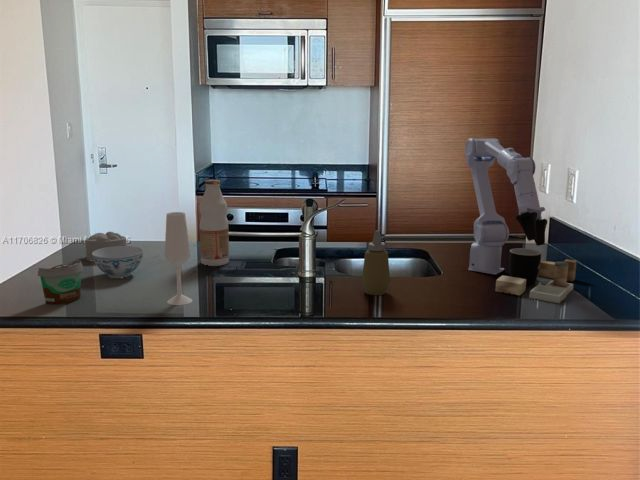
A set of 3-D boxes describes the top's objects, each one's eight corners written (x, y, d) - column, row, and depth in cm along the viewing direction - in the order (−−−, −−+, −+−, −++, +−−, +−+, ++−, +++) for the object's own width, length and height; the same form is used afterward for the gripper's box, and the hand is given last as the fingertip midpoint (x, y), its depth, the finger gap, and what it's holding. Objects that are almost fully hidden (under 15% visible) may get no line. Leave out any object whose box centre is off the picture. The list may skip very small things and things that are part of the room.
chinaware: (105, 285, 171) (103, 260, 170) (86, 274, 182) (84, 250, 181) (153, 276, 181) (151, 252, 179) (132, 266, 192) (131, 243, 190)
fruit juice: (201, 267, 192) (198, 182, 186) (200, 260, 201) (197, 178, 195) (230, 265, 194) (228, 181, 188) (228, 258, 203) (226, 178, 197)
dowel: (551, 289, 171) (553, 263, 169) (554, 286, 174) (557, 260, 172) (563, 292, 169) (566, 265, 167) (567, 289, 172) (569, 262, 170)
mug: (541, 289, 171) (544, 255, 169) (509, 287, 173) (512, 254, 170) (532, 278, 183) (535, 246, 181) (502, 276, 184) (505, 245, 182)
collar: (545, 289, 171) (545, 285, 170) (551, 285, 176) (551, 280, 175) (567, 293, 167) (568, 288, 167) (573, 288, 172) (573, 283, 172)
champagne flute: (171, 297, 161) (166, 211, 156) (195, 297, 161) (191, 211, 156) (163, 304, 155) (159, 215, 150) (189, 305, 155) (185, 216, 149)
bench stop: (516, 272, 189) (518, 254, 188) (519, 270, 192) (521, 252, 190) (572, 281, 179) (574, 262, 178) (574, 279, 182) (576, 260, 181)
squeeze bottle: (392, 290, 169) (394, 229, 165) (386, 298, 162) (388, 234, 158) (365, 287, 172) (366, 227, 168) (357, 295, 164) (359, 232, 160)
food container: (54, 309, 151) (51, 271, 149) (40, 304, 154) (36, 268, 152) (95, 296, 161) (92, 261, 159) (81, 292, 164) (78, 258, 162)
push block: (495, 291, 169) (496, 280, 169) (501, 286, 174) (502, 275, 174) (519, 296, 166) (520, 284, 165) (525, 291, 171) (526, 279, 170)
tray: (529, 297, 163) (529, 290, 163) (537, 290, 170) (538, 284, 169) (559, 303, 159) (559, 296, 158) (566, 296, 165) (567, 289, 165)
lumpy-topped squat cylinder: (96, 254, 208) (94, 230, 207) (132, 254, 208) (130, 231, 206) (83, 261, 198) (81, 236, 196) (121, 262, 198) (119, 237, 196)
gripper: (532, 186, 159) (543, 233, 155) (548, 199, 170) (558, 243, 166) (507, 193, 163) (517, 240, 159) (524, 206, 174) (533, 249, 170)
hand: (536, 242), depth 163 cm, fingers open, 7 cm apart
